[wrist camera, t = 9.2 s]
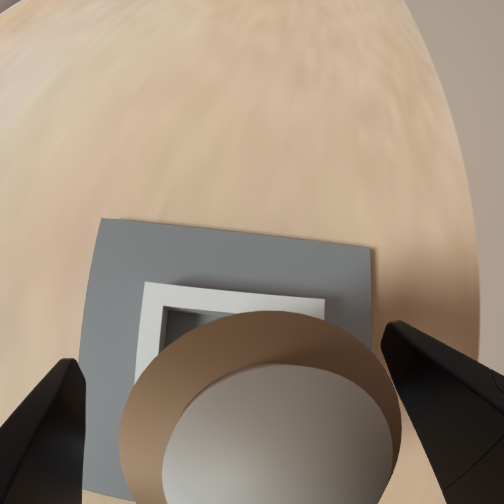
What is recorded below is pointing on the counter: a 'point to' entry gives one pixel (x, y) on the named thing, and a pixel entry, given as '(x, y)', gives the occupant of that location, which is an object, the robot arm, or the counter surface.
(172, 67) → the counter surface
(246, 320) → the mill
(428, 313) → the counter surface
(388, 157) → the counter surface
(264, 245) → the grey square frame plate
